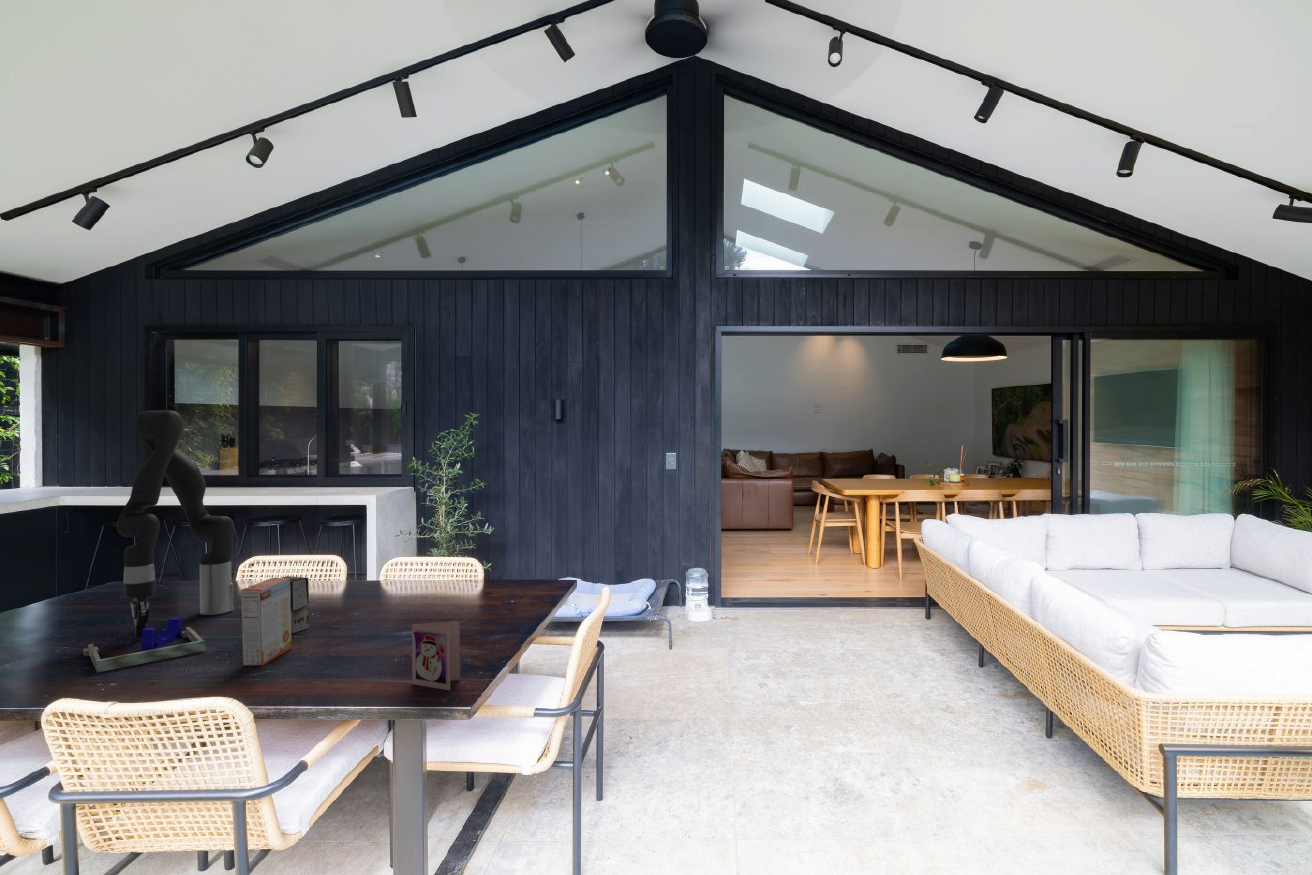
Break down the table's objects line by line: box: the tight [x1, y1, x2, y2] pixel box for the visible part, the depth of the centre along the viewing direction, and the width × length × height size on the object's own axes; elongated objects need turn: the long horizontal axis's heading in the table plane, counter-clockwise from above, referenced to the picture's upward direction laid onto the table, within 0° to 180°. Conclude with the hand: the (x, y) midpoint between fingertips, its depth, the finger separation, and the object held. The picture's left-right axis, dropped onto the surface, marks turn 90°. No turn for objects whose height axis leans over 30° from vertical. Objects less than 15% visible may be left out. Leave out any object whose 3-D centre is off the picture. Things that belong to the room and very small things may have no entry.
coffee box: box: [281, 575, 310, 634], centre depth 214 cm, size 9×6×16 cm
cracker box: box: [240, 577, 292, 667], centre depth 188 cm, size 14×6×21 cm, turn 178°
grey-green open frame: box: [82, 626, 206, 673], centre depth 193 cm, size 26×22×3 cm
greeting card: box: [411, 620, 461, 691], centre depth 169 cm, size 11×7×15 cm, turn 69°
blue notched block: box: [141, 617, 183, 651], centre depth 200 cm, size 12×4×6 cm, turn 0°
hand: (140, 636), depth 203 cm, fingers closed
